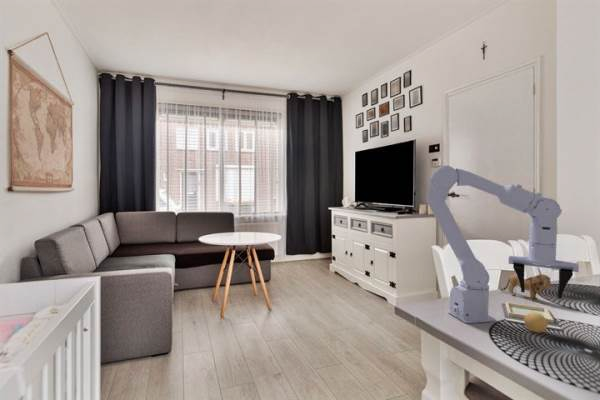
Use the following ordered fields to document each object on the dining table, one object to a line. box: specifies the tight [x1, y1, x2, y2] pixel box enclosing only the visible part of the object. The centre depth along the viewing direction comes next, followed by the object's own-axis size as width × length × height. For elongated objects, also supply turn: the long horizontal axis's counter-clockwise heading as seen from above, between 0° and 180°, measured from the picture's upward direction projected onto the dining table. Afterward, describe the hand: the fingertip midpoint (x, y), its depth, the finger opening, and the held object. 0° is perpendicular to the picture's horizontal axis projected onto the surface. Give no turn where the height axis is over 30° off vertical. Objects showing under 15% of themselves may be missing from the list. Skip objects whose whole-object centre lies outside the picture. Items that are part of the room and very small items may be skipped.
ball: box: [524, 312, 548, 333], centre depth 81 cm, size 5×5×5 cm
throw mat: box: [501, 301, 563, 332], centre depth 91 cm, size 16×12×1 cm
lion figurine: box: [500, 274, 552, 302], centre depth 108 cm, size 15×5×9 cm, turn 34°
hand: (540, 294), depth 84 cm, fingers open, 7 cm apart
